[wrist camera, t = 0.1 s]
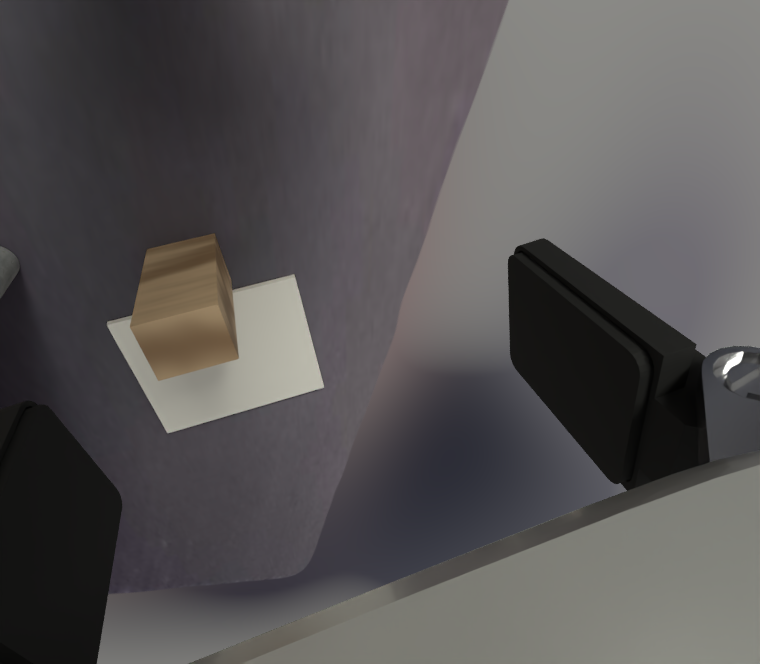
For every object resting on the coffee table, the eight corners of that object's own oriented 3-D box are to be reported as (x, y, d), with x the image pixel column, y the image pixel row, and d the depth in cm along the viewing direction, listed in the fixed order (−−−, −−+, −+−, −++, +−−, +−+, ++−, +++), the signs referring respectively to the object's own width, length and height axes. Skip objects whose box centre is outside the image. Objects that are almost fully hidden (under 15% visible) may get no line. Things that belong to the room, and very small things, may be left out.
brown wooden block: (146, 249, 44) (129, 327, 33) (214, 233, 45) (217, 304, 34) (168, 296, 47) (158, 381, 36) (231, 280, 48) (238, 358, 37)
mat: (107, 321, 46) (106, 325, 46) (294, 274, 49) (295, 276, 49) (167, 429, 55) (167, 433, 55) (323, 384, 58) (324, 387, 58)
